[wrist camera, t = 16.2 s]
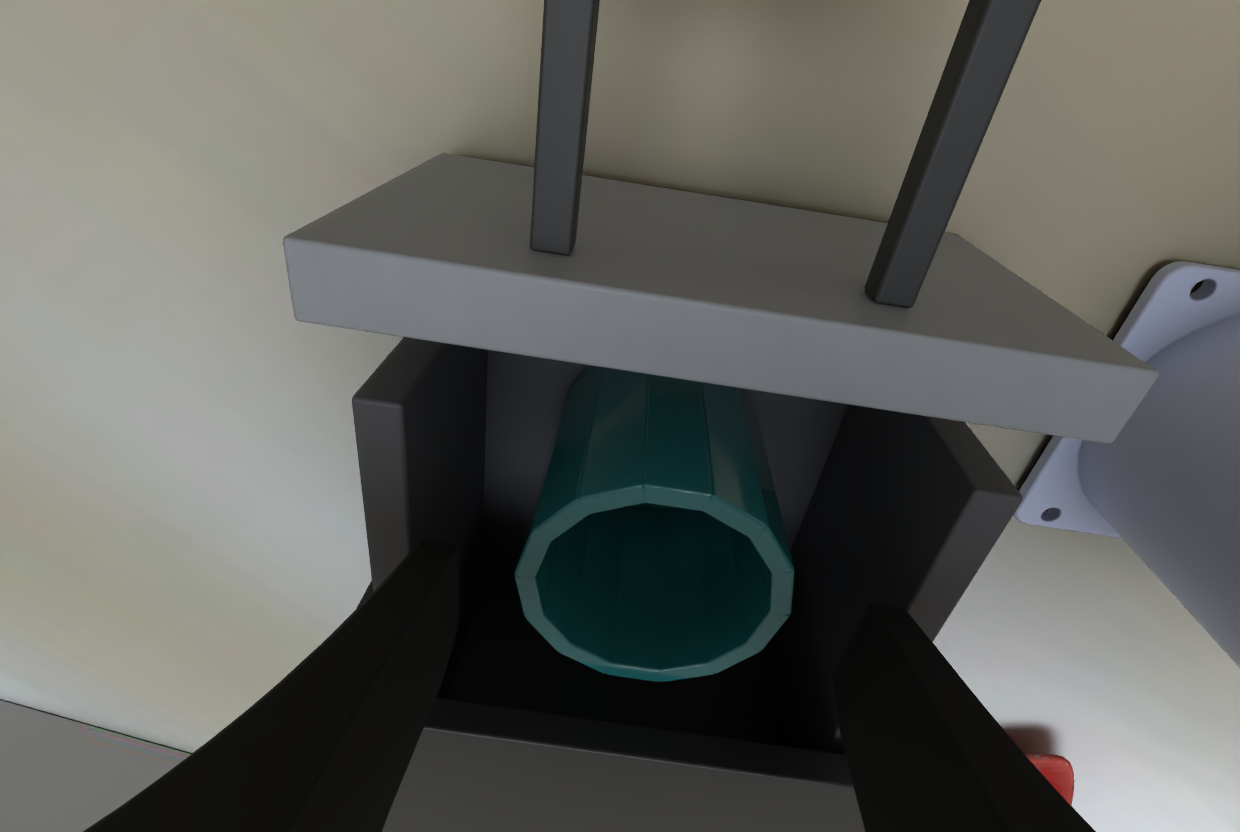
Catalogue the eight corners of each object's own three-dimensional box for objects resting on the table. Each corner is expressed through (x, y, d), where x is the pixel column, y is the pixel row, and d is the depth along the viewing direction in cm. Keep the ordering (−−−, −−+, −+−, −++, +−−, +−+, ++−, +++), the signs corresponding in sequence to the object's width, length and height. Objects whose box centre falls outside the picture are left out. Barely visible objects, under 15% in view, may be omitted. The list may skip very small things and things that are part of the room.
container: (731, 517, 17) (756, 697, 13) (550, 490, 17) (508, 662, 12) (780, 359, 15) (834, 512, 10) (566, 327, 14) (520, 466, 10)
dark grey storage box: (435, 459, 19) (300, 710, 12) (841, 519, 19) (943, 800, 12) (443, 722, 27) (363, 971, 20) (734, 763, 27) (759, 1023, 20)
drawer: (435, -171, 11) (177, -401, 5) (1086, -61, 11) (1535, -164, 5) (448, 575, 21) (366, 780, 15) (789, 625, 21) (836, 845, 15)
